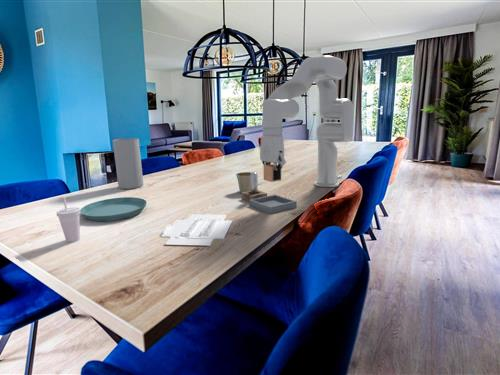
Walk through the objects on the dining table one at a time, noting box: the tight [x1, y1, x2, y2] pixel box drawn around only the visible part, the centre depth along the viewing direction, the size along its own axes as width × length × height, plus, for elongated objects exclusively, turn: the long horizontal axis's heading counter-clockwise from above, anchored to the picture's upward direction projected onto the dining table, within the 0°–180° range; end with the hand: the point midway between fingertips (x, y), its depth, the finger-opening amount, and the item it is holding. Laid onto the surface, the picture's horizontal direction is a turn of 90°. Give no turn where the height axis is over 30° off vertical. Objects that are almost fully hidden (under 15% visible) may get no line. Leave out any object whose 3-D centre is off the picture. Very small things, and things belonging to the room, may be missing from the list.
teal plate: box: [79, 196, 147, 222], centre depth 125 cm, size 24×24×3 cm
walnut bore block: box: [241, 190, 268, 203], centre depth 139 cm, size 8×8×3 cm
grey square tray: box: [249, 194, 298, 214], centre depth 129 cm, size 14×14×2 cm
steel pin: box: [251, 171, 259, 195], centre depth 138 cm, size 3×3×12 cm
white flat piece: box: [160, 213, 233, 247], centre depth 106 cm, size 20×28×4 cm
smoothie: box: [56, 196, 81, 243], centre depth 97 cm, size 6×6×14 cm
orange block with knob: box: [263, 163, 282, 183], centre depth 125 cm, size 5×5×6 cm
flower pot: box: [235, 171, 252, 193], centre depth 152 cm, size 9×9×9 cm
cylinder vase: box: [112, 137, 144, 190], centre depth 165 cm, size 12×12×25 cm
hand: (272, 178), depth 126 cm, fingers closed on orange block with knob, 5 cm apart
